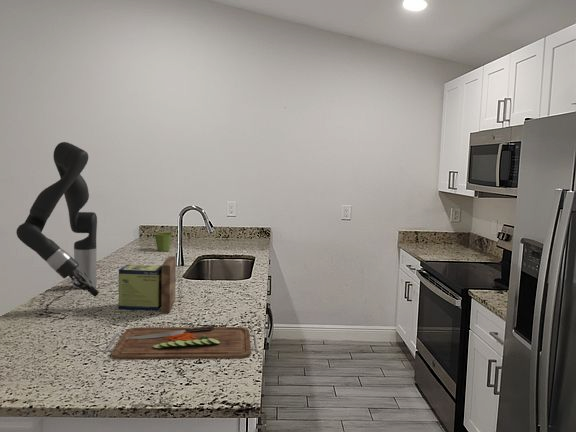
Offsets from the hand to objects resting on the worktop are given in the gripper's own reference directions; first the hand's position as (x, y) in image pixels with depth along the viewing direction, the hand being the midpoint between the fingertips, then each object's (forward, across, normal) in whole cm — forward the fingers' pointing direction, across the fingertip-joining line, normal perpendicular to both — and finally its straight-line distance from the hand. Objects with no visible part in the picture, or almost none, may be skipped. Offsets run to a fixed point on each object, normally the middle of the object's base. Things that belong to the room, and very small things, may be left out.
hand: (97, 294), depth 198 cm
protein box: (+15, 0, -8) cm, 17 cm away
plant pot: (+18, +134, -11) cm, 135 cm away
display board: (+22, 0, -15) cm, 27 cm away
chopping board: (+27, -44, -19) cm, 55 cm away
